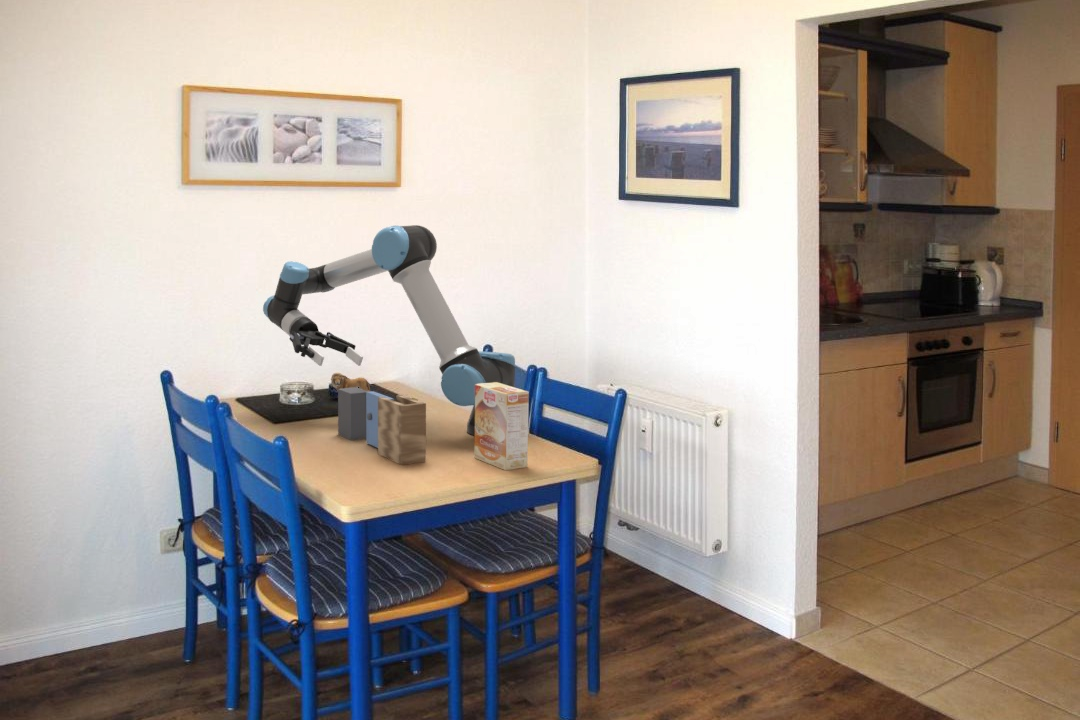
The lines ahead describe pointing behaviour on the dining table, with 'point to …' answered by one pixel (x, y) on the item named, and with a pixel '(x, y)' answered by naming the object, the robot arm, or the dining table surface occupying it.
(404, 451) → the box
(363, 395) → the block
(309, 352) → the robot arm
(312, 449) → the dining table surface
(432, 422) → the dining table surface
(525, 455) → the coffeecake box
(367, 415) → the sliding door
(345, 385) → the lion figurine
